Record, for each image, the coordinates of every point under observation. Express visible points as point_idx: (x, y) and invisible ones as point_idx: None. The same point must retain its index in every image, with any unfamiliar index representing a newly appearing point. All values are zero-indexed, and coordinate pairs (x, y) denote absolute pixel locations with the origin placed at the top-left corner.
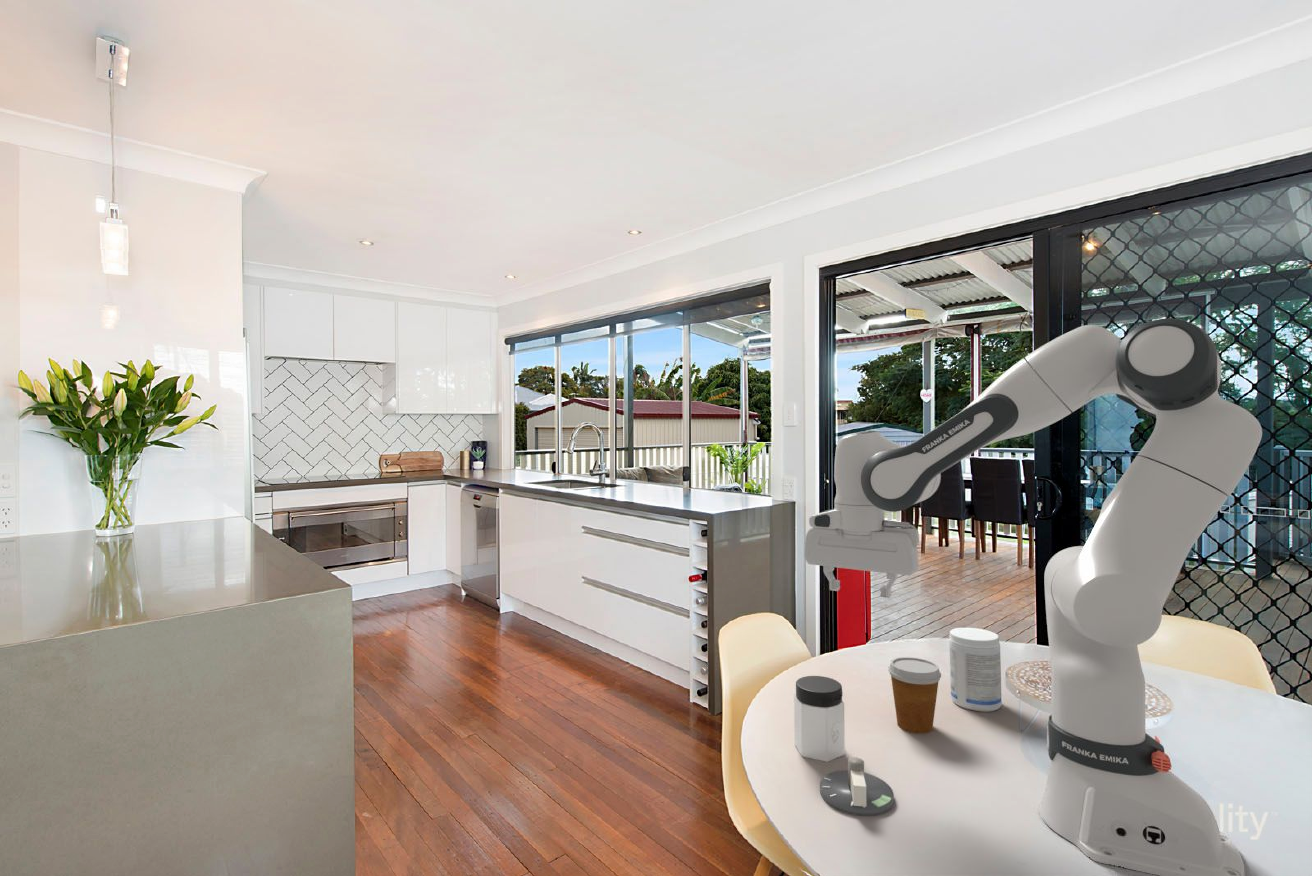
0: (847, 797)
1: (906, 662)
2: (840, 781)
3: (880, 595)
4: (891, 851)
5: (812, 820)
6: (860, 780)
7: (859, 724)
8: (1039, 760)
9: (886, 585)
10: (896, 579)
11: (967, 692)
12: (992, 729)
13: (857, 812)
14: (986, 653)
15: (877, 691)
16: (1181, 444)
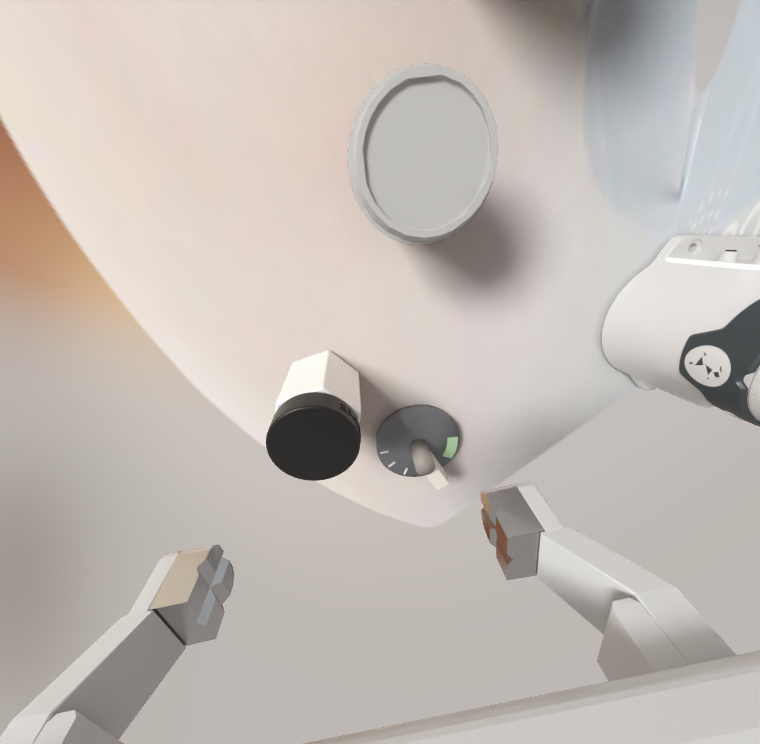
0: None
1: (394, 137)
2: (397, 445)
3: (486, 533)
4: (476, 483)
5: (401, 494)
6: (439, 479)
7: (317, 256)
8: (611, 160)
9: (558, 595)
10: (652, 577)
11: None
12: (531, 61)
13: None
14: None
15: (234, 9)
16: None
